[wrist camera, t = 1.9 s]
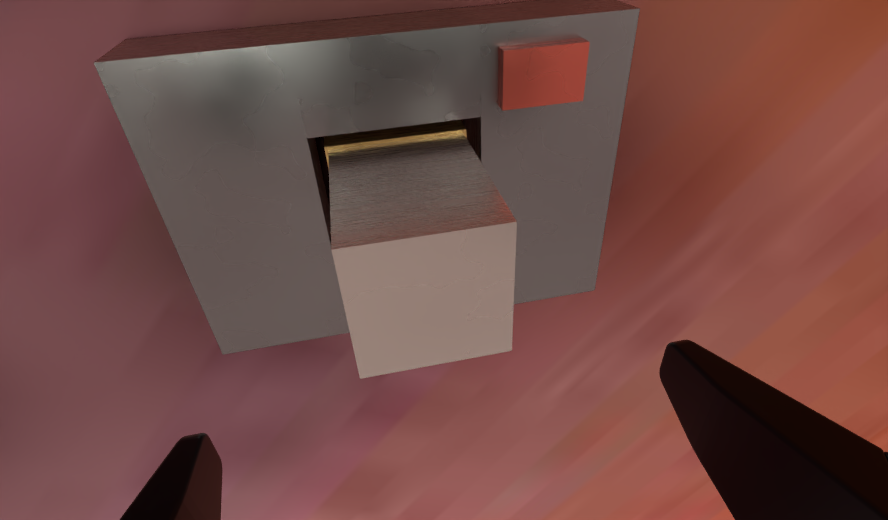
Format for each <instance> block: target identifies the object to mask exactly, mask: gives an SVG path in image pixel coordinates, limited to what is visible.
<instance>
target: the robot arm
mask: <svg viewBox="0 0 888 520" xmlns="http://www.w3.org/2000/svg"><path fill="white" fill-rule="evenodd" d="M660 379H661V382H662V384H663V386H664V388H665V390H666V392H667V395H668V397H669V399H670V401H671V403H672V405H673V408H674V410H675V412H676V414H677V416H678V418H679V420H680V423H681V425H682V427H683V429H684V431H685V433H686V435H687V438H688V440H689V442H690V444H691V446H692V448H693V449H694V451H695V453H696V455H697V457H698V458H699V460H700V462H701V463H702V465H703V467H704V468H705V470H706V472H707V473H708V475H709V477H710V479H711V480H712V482H713V484H714V485H715V487H716V489H717V490H718V492H719V494H720V495H721V497H722V499H723V500H724V502H725V504H726V505H727V507H728V509H729V510H730V512H731V514H732V515H733V517H734V519H735V520H888V452H883V450H882V449H881V448H879V447H877V446H876V445H874V444H872V443H870V442H869V441H867V440H865V439H863V438H862V437H860V436H858V435H856V434H855V433H853V432H851V431H849V430H848V429H846V428H844V427H842V426H840V425H839V424H837V423H835V422H833V421H832V420H830V419H828V418H826V417H825V416H823V415H821V414H819V413H818V412H816V411H814V410H812V409H811V408H809V407H807V406H805V405H804V404H802V403H800V402H798V401H796V400H795V399H793V398H791V397H789V396H788V395H786V394H784V393H782V392H781V391H779V390H777V389H775V388H774V387H772V386H770V385H768V384H767V383H765V382H763V381H761V380H759V379H758V378H756V377H754V376H752V375H751V374H749V373H747V372H745V371H744V370H742V369H740V368H738V367H737V366H735V365H733V364H731V363H730V362H728V361H726V360H724V359H722V358H721V357H719V356H717V355H715V354H714V353H712V352H710V351H708V350H707V349H705V348H703V347H701V346H700V345H698V344H696V343H694V342H692V341H690V340H681V341H676V342H671V343H669V344H668V345H667V347H666V349H665V353H664V356H663V359H662V363H661V366H660ZM221 493H222V463H221V459H220V457H219V455H218V453H217V451H216V449H215V447H214V445H213V444H212V442H211V440H210V438H209V436H208V435H207V434H205V433H199V434H194V435H189V436H185V437H182V438H181V439H180V440H179V441H178V442H177V443H176V444H175V446H174V447H173V449H172V450H171V451H170V453H169V454H168V455H167V457H166V458H165V459H164V461H163V462H162V463H161V465H160V466H159V467H158V469H157V470H156V471H155V473H154V474H153V475H152V477H151V478H150V479H149V481H148V482H147V484H146V485H145V486H144V488H143V489H142V490H141V492H140V493H139V494H138V496H137V497H136V498H135V500H134V501H133V502H132V504H131V505H130V506H129V508H128V509H127V510H126V512H125V513H124V514H123V516H122V517H121V519H120V520H221Z"/></svg>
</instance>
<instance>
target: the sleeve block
mask: <svg viewBox="0 0 888 520" xmlns="http://www.w3.org/2000/svg"><path fill="white" fill-rule="evenodd" d="M639 10H640V8H637V7H634V6H631V5H628V4H625V3H623V2H620V1H617V0H536V1H525V2H515V3H504V4H493V5H483V6H472V7H462V8H451V9H440V10H430V11H419V12H409V13H398V14H387V15H377V16H366V17H355V18H345V19H334V20H324V21H313V22H302V23H292V24H281V25H271V26H260V27H249V28H239V29H228V30H218V31H207V32H196V33H186V34H175V35H165V36H154V37H143V38H133V39H125V40H124V41H122V42H121V43H120V44H118V45H117V46H116V47H114V48H113V49H112V50H110V51H109V52H107V53H106V54H105V55H103V56H102V57H101V58H99V59H98V60H97V61H95V62H94V65H95V67H96V69H97V71H98V74H99V76H100V78H101V80H102V83H103V85H104V87H105V90H106V92H107V94H108V96H109V99H110V101H111V103H112V105H113V108H114V110H115V112H116V114H117V117H118V119H119V121H120V123H121V126H122V128H123V130H124V132H125V135H126V137H127V139H128V141H129V144H130V146H131V148H132V151H133V153H134V155H135V157H136V160H137V162H138V164H139V166H140V169H141V171H142V173H143V175H144V178H145V180H146V182H147V184H148V187H149V189H150V191H151V193H152V196H153V198H154V200H155V202H156V205H157V207H158V209H159V212H160V214H161V216H162V218H163V221H164V223H165V225H166V227H167V230H168V232H169V234H170V236H171V239H172V241H173V243H174V245H175V248H176V250H177V252H178V254H179V257H180V259H181V261H182V263H183V266H184V268H185V270H186V273H187V275H188V277H189V279H190V282H191V284H192V286H193V288H194V291H195V293H196V295H197V297H198V300H199V302H200V304H201V306H202V309H203V311H204V313H205V315H206V318H207V320H208V322H209V325H210V327H211V329H212V331H213V334H214V336H215V338H216V340H217V343H218V345H219V347H220V349H221V352H222V354H229V353H235V352H241V351H246V350H252V349H258V348H264V347H269V346H275V345H281V344H287V343H293V342H298V341H304V340H310V339H316V338H321V337H327V336H333V335H339V334H345V333H350V331H349V327H348V322H347V318H346V313H345V309H344V304H343V300H342V295H341V291H340V286H339V282H338V277H337V273H336V268H335V264H334V259H333V255H332V250H331V220H330V207H329V202H328V197H327V193H326V188H325V183H324V179H323V174H322V169H321V164H320V160H319V155H318V150H317V146H316V141H315V137H322V136H330V135H339V134H347V133H355V132H363V131H371V130H379V129H387V128H395V127H404V126H412V125H420V124H428V123H436V122H444V121H452V120H460V119H463V125H464V126H465V128H466V134H467V140H468V142H469V143H470V145H471V147H472V148H473V150H474V152H475V153H476V155H477V157H478V158H479V160H480V162H481V163H482V165H483V166H484V168H485V170H486V171H487V173H488V175H489V176H490V178H491V180H492V181H493V183H494V185H495V186H496V188H497V190H498V191H499V193H500V195H501V196H502V198H503V200H504V201H505V203H506V205H507V206H508V208H509V209H510V211H511V213H512V214H513V216H514V218H515V219H516V221H517V232H516V257H515V283H514V304H518V303H524V302H530V301H535V300H541V299H547V298H553V297H558V296H564V295H570V294H576V293H582V292H587V291H593V290H595V284H596V278H597V272H598V266H599V259H600V253H601V247H602V241H603V234H604V228H605V222H606V216H607V210H608V203H609V197H610V191H611V185H612V178H613V172H614V166H615V160H616V154H617V147H618V141H619V135H620V129H621V122H622V116H623V110H624V104H625V97H626V91H627V85H628V79H629V73H630V66H631V60H632V54H633V48H634V41H635V35H636V29H637V23H638V16H639Z"/></svg>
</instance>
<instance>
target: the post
mask: <svg viewBox="0 0 888 520" xmlns="http://www.w3.org/2000/svg"><path fill="white" fill-rule="evenodd" d="M324 149H325V154H326V159H327V164H328V169H329V188H330V220H331V250H332V255H333V259H334V264H335V268H336V273H337V277H338V282H339V286H340V291H341V295H342V300H343V304H344V309H345V313H346V318H347V322H348V327H349V331H350V336H351V340H352V345H353V349H354V354H355V358H356V363H357V367H358V372H359V376H360V379H361V378H367V377H372V376H378V375H383V374H389V373H394V372H399V371H405V370H410V369H416V368H421V367H426V366H432V365H437V364H443V363H448V362H453V361H459V360H464V359H470V358H475V357H480V356H486V355H491V354H497V353H502V352H507V351H512V333H513V308H514V283H515V257H516V232H517V221H516V219H515V218H514V216H513V214H512V213H511V211H510V209H509V208H508V206H507V205H506V203H505V201H504V200H503V198H502V196H501V195H500V193H499V191H498V190H497V188H496V186H495V185H494V183H493V181H492V180H491V178H490V176H489V175H488V173H487V171H486V170H485V168H484V166H483V165H482V163H481V162H480V160H479V158H478V157H477V155H476V153H475V152H474V150H473V148H472V147H471V145H470V143H469V142H468V140H467V134H466V128H465V126H464V125H463V123H462V122H461V120H452V121H444V122H436V123H428V124H420V125H412V126H404V127H395V128H387V129H379V130H371V131H363V132H355V133H347V134H339V135H330V136H326V137H324Z"/></svg>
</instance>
